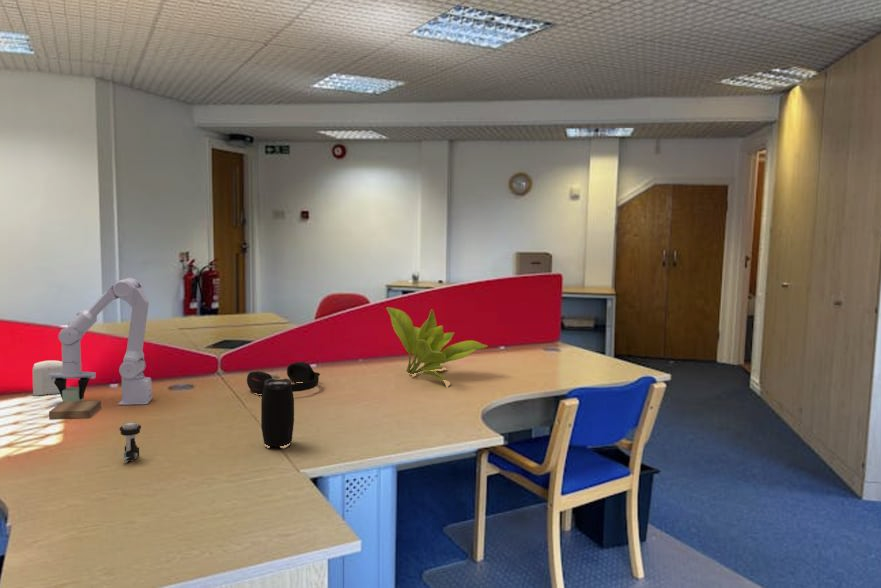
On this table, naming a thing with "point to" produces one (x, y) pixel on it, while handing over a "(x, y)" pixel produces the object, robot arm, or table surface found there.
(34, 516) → the table surface
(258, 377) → the headset
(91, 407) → the walnut riser block
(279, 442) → the portable speaker
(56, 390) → the photo printer
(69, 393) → the sage wooden cube
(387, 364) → the table surface
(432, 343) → the artificial plant
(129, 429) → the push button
